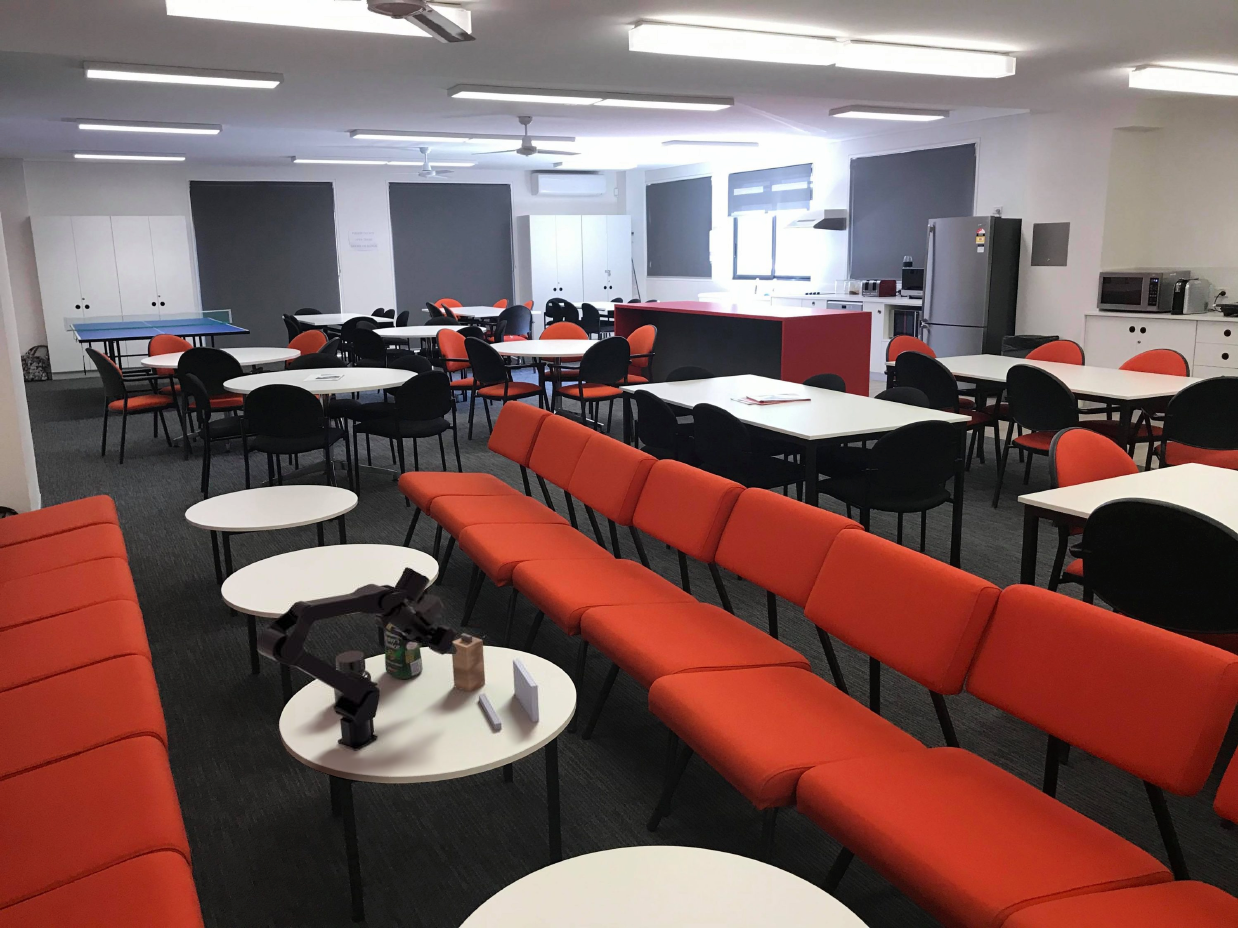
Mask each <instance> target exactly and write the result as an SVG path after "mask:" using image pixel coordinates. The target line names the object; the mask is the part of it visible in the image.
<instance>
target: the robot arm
mask: <svg viewBox="0 0 1238 928" xmlns="http://www.w3.org/2000/svg"><path fill="white" fill-rule="evenodd" d="M430 581H431V580H430V579H429V578H428V577H427V576H426V575H424V574H422V573H420V572H418V571H416V570H414V569H413V568H411V567H408V566H406V567H405V569H404V570H403V571H402V574H401V576H400V577H399V579H398V581H397V583H396V584H395V585H394V586H393V585H390V584H384V585H379V584H375V583H368V584H366V585H363V586H360V587H358V588H357V589H355V590H354V591H353V592H351V593H346V594H339V595H334V596H328V597H322V598H316V599H310V600H304V601H303V600H299V601H296V602H294V603H293V604H292V605H291V606H290V608H288V609H287V611H286V612H284V613H283V614H282V615H279V617H276V619H274V620H273V621H272V622H271V623H270V624H269V626H268V627H267V628H266V629H265V630H264V631H262V632H261V634H260V635H259V637H258V639H257V642H256V650H257V652H258V653H259V654H261V655H262V656H265V657H267V658H269V659H271V660H273V661H276V662H278V663H280V664H283V665H287V666H290V667H295V668H297V669H299V670H301V671H302V672H303V673H305V674H308V675H309V676H310V677H312V678H315V679H316V680H317V681H320V682H321V683H323V684H325V685H326V686H329V687H330V688H332V689H333V691H334V690H335V691H336V692H337V694H338V695H339V696H340V697H339V698H338V700H337V702H336V703H335V702H334V705H333V707H332V708H333V711H334V714H335V715H339V717H341V718H340V719H339V722H340V731H341V732H340V734H341V738H339V739H337V743H338V744H340V745H343V746H345V747H348V748H349V749H352V750H354V751H357V750H360V749H361V748H363V747H365V746H367V745H368V744H370V743H373V742H374V741H376V740H378V739H379V737H378V735H376V734H375V727H374V726H375V725H374V724H375V723H374V718H376V716H377V712H378V711H377V710H378V706H379V701H380V698H381V690H380V688H378V683H377V682H375V681H373V680H372V679H371V680H369V679H368V678H366V677H365V676H363V675H360V674H358V673H356V672H354V671H351V670H350V671H349V673H348V675H345V674H343V673H342V672H340V671H338V670H337V668H336V667H333V666H332V665H330V664H328V663H326V662H324V661H323V660H321V659H320V658H318V657H316V656H315V655H313V654H312V653H310V652H308V650H307V648H306V647H305V646H304V643H305V642H306V641H307V637H308V635H309V632H310V630H311V627H312V625H313V624H314V623H315V622H316V621H322V620H327V619H331V618H338V617H342V616H348V615H353V614H369V615H375V619H374V625H375V626H378V627H380V628H382V629H383V628H386V627H387V625H388V623H389V624H391V625H392V627H391V628H390V630H391V634H392V635H394V636H395V637H397V638H400V639H402V640H405V641H409V642H415V643H419V644H422V645H427V646H428V648H429V649H430V650H431V651H433V652H434V653H436V654H439V655H441V656H444V655H452V654H456V652H457V649H456V647H455V645H454V643H453V641H455V640H454V639H455V638H456V636H457V630H455V629H454V628H452V627H451V626H450V627H449V626H448V625H444V624H441V625H439V626H437V628H435V627H432V626H433V624H434V623H435V620H434V618H435V617H436V616H437V615H438V614H439V613H440V612H443V610H444V608H445V607H444V605H443V603H442V600H441V599H440V597H439V596H437V595H433V594H429V593H428V594H426V593H424V591H425V590H426V589H427V586H428V584H429V583H430ZM423 593H424V594H423ZM405 602H406V603H408V604H412V605H413V607H412V606H410V607H409V605H408V604H406V603H405ZM411 607H412V608H413V609H412V608H411ZM292 627H294V628H293V630H292V632H290V634H289V633H287V632H286V631H288V630H289V629H291V628H292Z"/></svg>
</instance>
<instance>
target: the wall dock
mask: <svg viewBox="0 0 1238 928" xmlns="http://www.w3.org/2000/svg"><path fill="white" fill-rule="evenodd" d="M512 670H513V671H512V672H513V689H514V695H515V696H516V697H517V700H518V701H519V702H520V705H522V707H523V708H524V710H525V711H526V714H527V715H528V717H529V718H530V720H531V721H532V722H533V723H534V722H539V721H540V712H539V711H540V707H539V690H538V689H539V688H538V687H539V686H538V684H537V682H536V681H535V680H534V678H533V677H532V676H531V674H530V672H529V671H528V669H527V668H526V667H525V665H524V664H523V662H522V661H521V660H520V658H514V659H512ZM478 701H479V702H480V704H481V706H482V708H483V710H484V712H485V714H486V716H487V717H488V719H489V721H490V723H491V725H492V727H493V728H494V730H495V731H496V730H497V731H498V730H501V729H502V728H503V727H502V721H501V720H500V718H499V716H498V715H497V712H496V711H495V709H494V707H493V705H492V704H491V702H490V701H489V698H488V696H487V695H486V694H485V692H484V693H480V694H478Z"/></svg>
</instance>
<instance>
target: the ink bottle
mask: <svg viewBox="0 0 1238 928" xmlns="http://www.w3.org/2000/svg"><path fill="white" fill-rule="evenodd" d="M335 665H336V667H335V669H337V670H338V671H340V672H342V673H343V674H345V675H348V673H349V671H350V670H351V671H354V672H356V673H358V674H360V675H363V676H365V677H366V678H368V679H369V680H371V681H372V676H371V673H370V671H368V670H366V658H365V653H364V652H362V651H359V650H349V651H344V652H342V653H339V654H337V656H336V657H335ZM333 691H334V692H333V694H334V704H335V703H336V702H337V700H338V698H339V697H340V696H339V695H338V694H337V692H336V691H335V690H334V689H333Z"/></svg>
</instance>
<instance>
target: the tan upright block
mask: <svg viewBox="0 0 1238 928" xmlns="http://www.w3.org/2000/svg"><path fill="white" fill-rule="evenodd" d="M453 643H454V645H455V647H456V649H457V652H456V654H451V658H452V660H451V661H452V673H453V687H455V686H456V687H455V688H457V687H458V688H457V689H460V688H461V689H460V690H462V689H463V691H465V690H466V691H465V692H467V691H468V693H471V692H472V691H475V690H476V689H478V688H480V687H483V686H484V685H486V677H485V676H486V673H485V660H484V659H485V656H484V645H483V643H484V641H483V639H480V638H478V637H475V636H472V635H470V634H467V633H465V632H463V633H462V634H460V638H458V639H455V640H453ZM470 691H471V692H470Z"/></svg>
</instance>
